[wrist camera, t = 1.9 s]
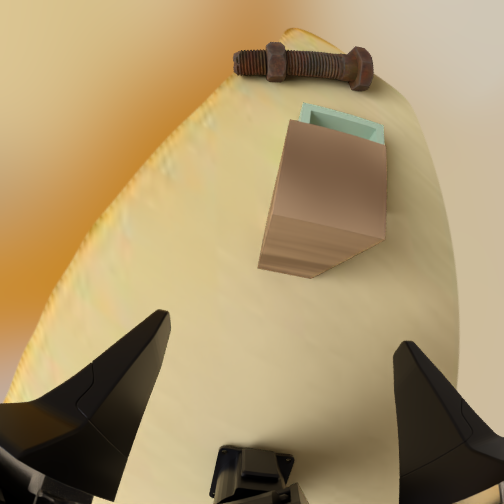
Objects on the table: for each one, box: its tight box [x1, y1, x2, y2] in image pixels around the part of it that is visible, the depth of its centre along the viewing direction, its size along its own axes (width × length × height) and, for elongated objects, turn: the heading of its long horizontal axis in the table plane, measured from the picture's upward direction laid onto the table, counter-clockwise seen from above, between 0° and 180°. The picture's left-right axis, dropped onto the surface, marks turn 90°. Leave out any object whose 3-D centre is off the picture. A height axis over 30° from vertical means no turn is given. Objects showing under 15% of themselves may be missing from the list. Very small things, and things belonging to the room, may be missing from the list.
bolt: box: [233, 42, 374, 91], centre depth 25 cm, size 6×5×15 cm
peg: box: [258, 119, 387, 279], centre depth 17 cm, size 4×4×13 cm
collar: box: [298, 103, 384, 145], centre depth 23 cm, size 8×8×3 cm
